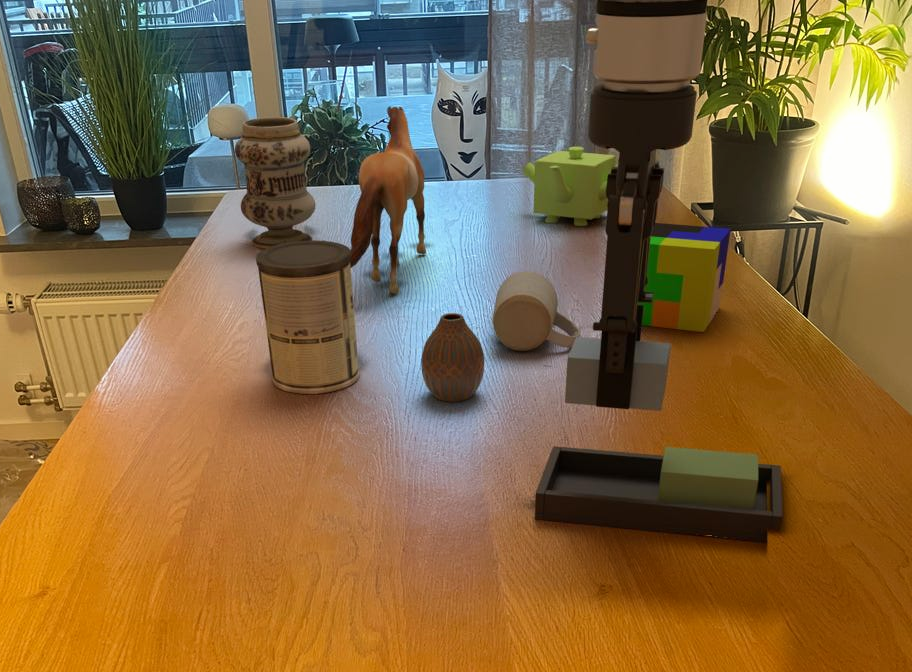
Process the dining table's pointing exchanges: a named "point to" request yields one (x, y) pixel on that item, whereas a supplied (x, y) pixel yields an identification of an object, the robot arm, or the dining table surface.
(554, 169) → the kettle
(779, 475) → the black rectangular tray
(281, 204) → the apothecary jar
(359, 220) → the horse figurine
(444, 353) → the vase
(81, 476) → the dining table surface
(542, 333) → the ceramic mug
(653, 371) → the grey block
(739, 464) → the green rectangular block
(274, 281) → the coffee can
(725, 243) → the puzzle toy
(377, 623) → the dining table surface
